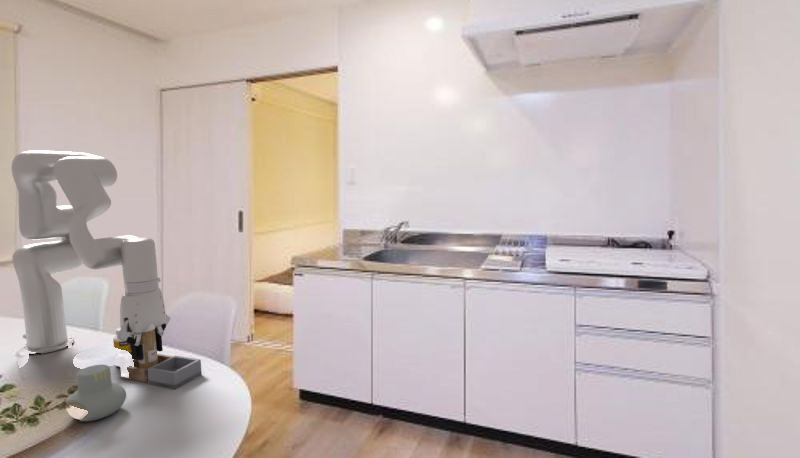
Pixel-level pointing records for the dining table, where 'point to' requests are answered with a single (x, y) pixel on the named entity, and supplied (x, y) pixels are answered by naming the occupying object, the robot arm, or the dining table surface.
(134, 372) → the brown wooden square frame
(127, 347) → the supplement bottle
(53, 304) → the robot arm
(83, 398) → the air freshener
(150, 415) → the dining table surface
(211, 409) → the dining table surface
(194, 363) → the tray
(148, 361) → the sprinkles bottle
